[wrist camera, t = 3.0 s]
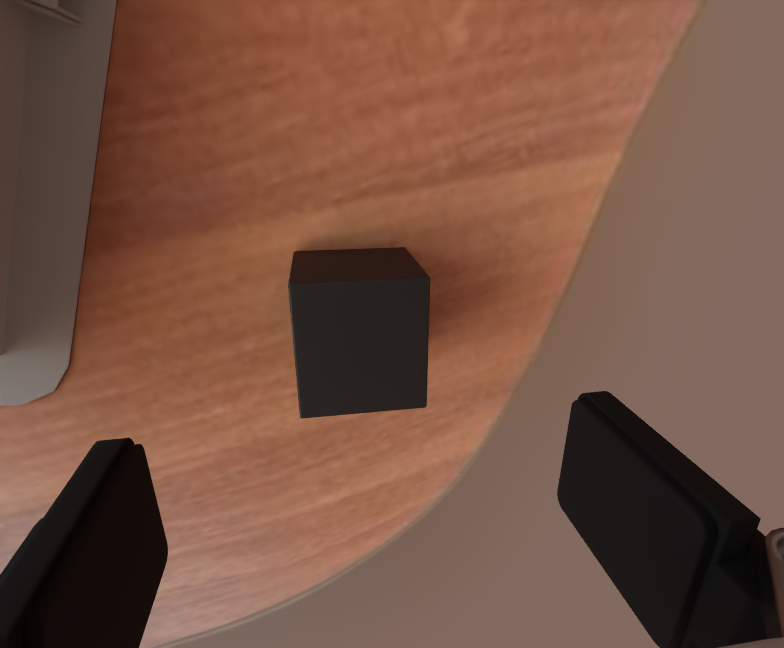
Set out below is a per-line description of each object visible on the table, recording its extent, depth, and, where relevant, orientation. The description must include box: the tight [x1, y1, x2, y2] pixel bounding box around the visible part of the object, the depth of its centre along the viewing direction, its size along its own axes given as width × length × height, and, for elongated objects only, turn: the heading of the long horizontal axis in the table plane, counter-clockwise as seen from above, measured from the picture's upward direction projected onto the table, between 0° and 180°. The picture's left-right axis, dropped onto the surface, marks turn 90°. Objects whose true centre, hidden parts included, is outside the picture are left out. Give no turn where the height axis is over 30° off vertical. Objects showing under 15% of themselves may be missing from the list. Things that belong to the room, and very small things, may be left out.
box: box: [288, 247, 430, 418], centre depth 18 cm, size 5×5×5 cm
